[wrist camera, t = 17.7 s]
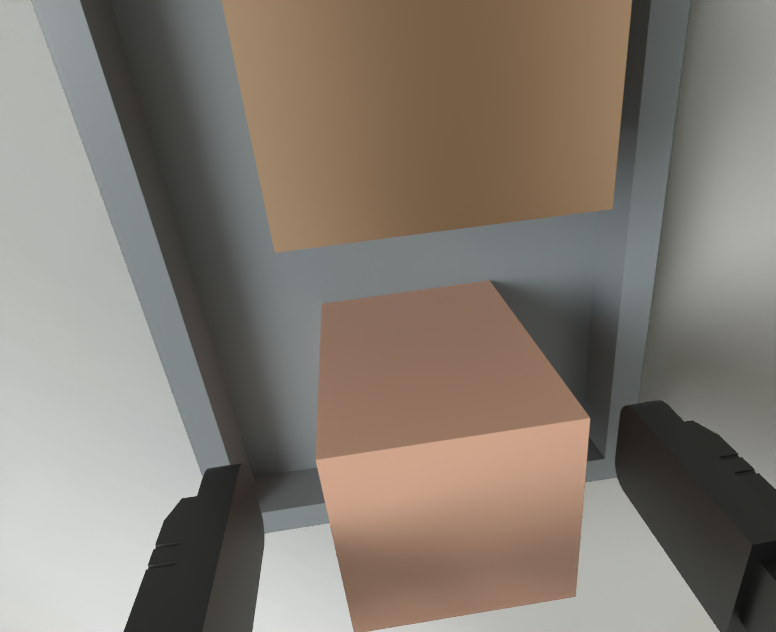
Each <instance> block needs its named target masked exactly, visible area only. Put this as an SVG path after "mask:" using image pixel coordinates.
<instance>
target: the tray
mask: <svg viewBox="0 0 776 632" xmlns="http://www.w3.org/2000/svg"><path fill="white" fill-rule="evenodd" d="M31 1H32V4H33V7H34V10H35V12H36V15H37V18H38V21H39V23H40V26H41V29H42V32H43V35H44V37H45V40H46V43H47V46H48V48H49V51H50V54H51V57H52V60H53V62H54V65H55V68H56V71H57V73H58V76H59V79H60V82H61V85H62V87H63V90H64V93H65V96H66V98H67V101H68V104H69V107H70V110H71V112H72V115H73V118H74V121H75V123H76V126H77V129H78V132H79V135H80V137H81V140H82V143H83V146H84V148H85V151H86V154H87V157H88V160H89V162H90V165H91V168H92V171H93V174H94V176H95V179H96V182H97V185H98V187H99V190H100V193H101V196H102V199H103V201H104V204H105V207H106V210H107V212H108V215H109V218H110V221H111V224H112V226H113V229H114V232H115V235H116V237H117V240H118V243H119V246H120V249H121V251H122V254H123V257H124V260H125V262H126V265H127V268H128V271H129V274H130V276H131V279H132V282H133V285H134V287H135V290H136V293H137V296H138V299H139V301H140V304H141V307H142V310H143V312H144V315H145V318H146V321H147V324H148V326H149V329H150V332H151V335H152V337H153V340H154V343H155V346H156V349H157V351H158V354H159V357H160V360H161V362H162V365H163V368H164V371H165V374H166V376H167V379H168V382H169V385H170V388H171V390H172V393H173V396H174V399H175V401H176V404H177V407H178V410H179V413H180V415H181V418H182V421H183V424H184V426H185V429H186V432H187V435H188V438H189V440H190V443H191V446H192V449H193V451H194V454H195V457H196V460H197V463H198V465H199V468H200V471H201V474H202V476H203V475H204V473H205V471H206V470H207V469H208V468H213V467H220V466H227V465H233V464H240V463H244V464H245V465H246V466H247V468H248V471H249V474H250V477H251V481H252V484H253V487H254V491H255V494H256V497H257V500H258V504H259V507H260V510H261V514H262V518H263V524H264V533H270V532H276V531H282V530H289V529H295V528H301V527H308V526H314V525H320V524H326V523H330V522H329V518H328V513H327V509H326V504H325V500H324V495H323V491H322V486H321V482H320V477H319V473H318V469H317V464H316V437H317V411H318V386H319V360H320V334H321V308H322V304H324V303H331V302H338V301H345V300H352V299H359V298H366V297H374V296H381V295H388V294H395V293H402V292H409V291H416V290H423V289H431V288H438V287H445V286H452V285H459V284H466V283H473V282H480V281H487V280H490V282H491V283H492V284H493V286H494V287H495V289H496V290H497V291H498V293H499V294H500V295H501V297H502V298H503V299H504V301H505V302H506V304H507V305H508V306H509V308H510V309H511V310H512V312H513V313H514V315H515V316H516V317H517V319H518V320H519V321H520V323H521V324H522V325H523V327H524V328H525V330H526V331H527V332H528V334H529V335H530V336H531V338H532V339H533V340H534V342H535V343H536V345H537V346H538V347H539V349H540V350H541V351H542V353H543V354H544V356H545V357H546V358H547V360H548V361H549V362H550V364H551V365H552V366H553V368H554V369H555V371H556V372H557V373H558V375H559V376H560V377H561V379H562V380H563V381H564V383H565V384H566V386H567V387H568V388H569V390H570V391H571V392H572V394H573V395H574V397H575V398H576V399H577V401H578V402H579V403H580V405H581V406H582V407H583V409H584V410H585V412H586V413H587V414H588V416H589V417H590V428H589V440H588V452H587V464H586V476H585V482H590V481H597V480H603V479H609V478H615V477H617V474H616V469H615V454H616V445H617V436H618V427H619V418H620V412H621V409H622V407H624V406H626V405H632V404H638V402H639V394H640V387H641V379H642V371H643V364H644V356H645V348H646V341H647V333H648V325H649V318H650V310H651V302H652V295H653V287H654V279H655V272H656V264H657V256H658V249H659V241H660V233H661V226H662V218H663V210H664V203H665V195H666V187H667V180H668V172H669V164H670V157H671V149H672V141H673V134H674V126H675V118H676V111H677V103H678V95H679V88H680V80H681V72H682V65H683V57H684V49H685V42H686V34H687V26H688V19H689V11H690V3H691V0H632V7H631V18H630V28H629V39H628V50H627V60H626V71H625V82H624V92H623V103H622V114H621V124H620V135H619V146H618V156H617V167H616V177H615V188H614V199H613V209H609V210H601V211H593V212H586V213H578V214H570V215H563V216H555V217H547V218H539V219H532V220H524V221H516V222H508V223H501V224H493V225H485V226H477V227H470V228H462V229H454V230H447V231H439V232H431V233H423V234H416V235H408V236H400V237H392V238H385V239H377V240H369V241H361V242H354V243H346V244H338V245H331V246H323V247H315V248H307V249H300V250H292V251H284V252H276V253H275V252H274V247H273V242H272V237H271V233H270V228H269V223H268V218H267V214H266V209H265V204H264V199H263V195H262V190H261V185H260V180H259V176H258V171H257V166H256V161H255V157H254V152H253V147H252V142H251V138H250V133H249V128H248V123H247V119H246V114H245V109H244V104H243V100H242V95H241V90H240V85H239V81H238V76H237V71H236V66H235V62H234V57H233V52H232V47H231V43H230V38H229V33H228V28H227V24H226V19H225V14H224V9H223V5H222V0H31Z"/></svg>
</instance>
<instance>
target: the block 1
mask: <svg viewBox="0 0 776 632" xmlns="http://www.w3.org/2000/svg"><path fill="white" fill-rule="evenodd" d="M222 5H223V9H224V14H225V19H226V24H227V28H228V33H229V38H230V43H231V47H232V52H233V57H234V62H235V66H236V71H237V76H238V81H239V85H240V90H241V95H242V100H243V104H244V109H245V114H246V119H247V123H248V128H249V133H250V138H251V142H252V147H253V152H254V157H255V161H256V166H257V171H258V176H259V180H260V185H261V190H262V195H263V199H264V204H265V209H266V214H267V218H268V223H269V228H270V233H271V237H272V242H273V247H274V252H275V253H276V252H284V251H292V250H300V249H307V248H315V247H323V246H331V245H338V244H346V243H354V242H361V241H369V240H377V239H385V238H392V237H400V236H408V235H416V234H423V233H431V232H439V231H447V230H454V229H462V228H470V227H477V226H485V225H493V224H501V223H508V222H516V221H524V220H532V219H539V218H547V217H555V216H563V215H570V214H578V213H586V212H593V211H601V210H609V209H613V199H614V188H615V177H616V167H617V156H618V146H619V135H620V124H621V114H622V103H623V92H624V82H625V71H626V60H627V50H628V39H629V28H630V18H631V7H632V0H222Z"/></svg>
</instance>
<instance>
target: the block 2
mask: <svg viewBox="0 0 776 632" xmlns="http://www.w3.org/2000/svg"><path fill="white" fill-rule="evenodd" d="M589 428H590V417H589V416H588V414H587V413H586V412H585V410H584V409H583V407H582V406H581V405H580V403H579V402H578V401H577V399H576V398H575V397H574V395H573V394H572V392H571V391H570V390H569V388H568V387H567V386H566V384H565V383H564V381H563V380H562V379H561V377H560V376H559V375H558V373H557V372H556V371H555V369H554V368H553V366H552V365H551V364H550V362H549V361H548V360H547V358H546V357H545V356H544V354H543V353H542V351H541V350H540V349H539V347H538V346H537V345H536V343H535V342H534V340H533V339H532V338H531V336H530V335H529V334H528V332H527V331H526V330H525V328H524V327H523V325H522V324H521V323H520V321H519V320H518V319H517V317H516V316H515V315H514V313H513V312H512V310H511V309H510V308H509V306H508V305H507V304H506V302H505V301H504V299H503V298H502V297H501V295H500V294H499V293H498V291H497V290H496V289H495V287H494V286H493V284H492V283H491V282H490V280H487V281H480V282H473V283H466V284H459V285H452V286H445V287H438V288H431V289H423V290H416V291H409V292H402V293H395V294H388V295H381V296H374V297H366V298H359V299H352V300H345V301H338V302H331V303H324V304H322V308H321V334H320V360H319V386H318V411H317V437H316V464H317V469H318V473H319V477H320V482H321V486H322V491H323V495H324V500H325V504H326V509H327V513H328V518H329V522H330V527H331V531H332V536H333V540H334V545H335V549H336V554H337V558H338V563H339V567H340V572H341V576H342V581H343V585H344V590H345V594H346V598H347V603H348V607H349V612H350V616H351V621H352V625H353V630H354V632H367V631H373V630H379V629H385V628H391V627H397V626H403V625H409V624H415V623H421V622H427V621H433V620H439V619H445V618H451V617H457V616H463V615H469V614H475V613H481V612H487V611H493V610H499V609H505V608H511V607H517V606H523V605H529V604H535V603H540V602H546V601H552V600H558V599H564V598H570V597H576V585H577V573H578V561H579V549H580V537H581V525H582V512H583V500H584V488H585V476H586V464H587V452H588V440H589Z"/></svg>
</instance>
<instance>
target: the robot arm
mask: <svg viewBox="0 0 776 632" xmlns="http://www.w3.org/2000/svg"><path fill="white" fill-rule="evenodd" d="M615 469H616V474H617V478H618V480H619V483H620V485H621V487H622V489H623V491H624V492H625V494H626V495H627V497H628V498H629V500H630V501H631V502H632V504H633V505H634V507H635V508H636V510H637V511H638V513H639V514H640V516H641V517H642V519H643V520H644V521H645V523H646V524H647V526H648V527H649V529H650V530H651V532H652V533H653V535H654V536H655V538H656V539H657V540H658V542H659V543H660V545H661V546H662V548H663V549H664V551H665V552H666V554H667V555H668V556H669V558H670V559H671V561H672V562H673V564H674V565H675V567H676V568H677V570H678V571H679V573H680V574H681V575H682V577H683V578H684V580H685V581H686V583H687V584H688V586H689V587H690V589H691V590H692V592H693V593H694V594H695V596H696V597H697V599H698V600H699V602H700V603H701V605H702V606H703V608H704V609H705V611H706V612H707V613H708V615H709V616H710V618H711V619H712V620H713V622H714V624H715V625H716V627H717V628H718V629H719V631H720V632H776V489H775V488H773V487H772V486H771V485H770V484H769V483H768V482H767V481H766V480H765V479H764V478H763V477H762V476H761V475H760V474H759V473H757V474H756V473H755V471H754V468H753V467H752V466H750V465H749V464H748V463H747V462H746V461H745V460H744V459H743V458H742V457H741V458H739V456H738V453H737V452H736V451H735V450H734V449H733V448H732V447H731V446H730V445H729V444H728V443H726V442H725V441H724V440H723V439H722V438H721V437H720V436H719V435H718V434H716V433H714V432H712V431H711V430H709V429H707V428H705V427H703V426H701V425H700V424H698V423H696V422H694V421H686V422H684V421H683V420H682V419H681V418H680V417H679V416H678V415H677V414H676V413H675V412H674V411H673V410H672V409H671V408H670V407H669V406H668V405H667V404H666V403H665V402H663V401H660V400H658V401H651V402H645V403H638V404H632V405H626V406H624V407H622V409H621V412H620V418H619V427H618V436H617V445H616V454H615ZM155 545H156V549H154V550H153V553H152V555H151V558H150V561H149V564H148V570H146V572H145V574H144V577H143V580H142V583H141V585H140V588H139V591H138V594H137V596H136V599H135V602H134V605H133V607H132V610H131V613H130V616H129V618H128V621H127V624H126V627H125V629H124V632H252V629H253V622H254V615H255V607H256V600H257V593H258V586H259V579H260V571H261V564H262V557H263V550H264V524H263V518H262V514H261V510H260V507H259V504H258V500H257V497H256V494H255V491H254V487H253V484H252V481H251V477H250V474H249V471H248V468H247V466H246V465H245V464H244V463H240V464H233V465H227V466H220V467H213V468H208V469H207V470H206V471H205V473H204V475H203V479H202V482H201V485H200V488H199V492H198V495H197V496H195V497H189V498H182V499H181V500H180V502H179V503H178V504H177V505H176V507H175V508H174V509H173V510H172V512H171V513H170V514H169V515H168V516H167V518H166V519H165V520H164V522H163V525H162V528H161V531H160V533H159V536H158V539H157V542H156V544H155Z"/></svg>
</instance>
